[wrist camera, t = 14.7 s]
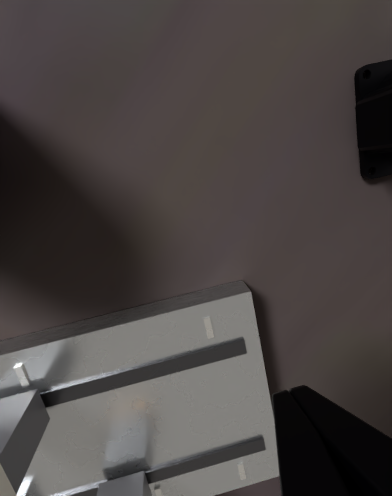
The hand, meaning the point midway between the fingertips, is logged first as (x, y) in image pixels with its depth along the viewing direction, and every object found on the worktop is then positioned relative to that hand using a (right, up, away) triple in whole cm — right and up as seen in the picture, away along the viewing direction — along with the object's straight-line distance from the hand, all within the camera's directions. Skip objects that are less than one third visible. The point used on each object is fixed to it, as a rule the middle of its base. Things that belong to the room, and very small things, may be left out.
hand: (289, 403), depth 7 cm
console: (-7, -8, +14) cm, 18 cm away
